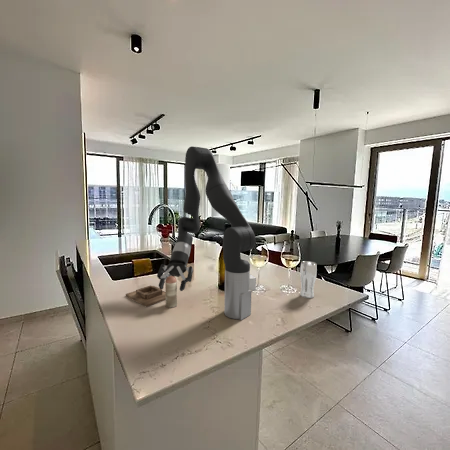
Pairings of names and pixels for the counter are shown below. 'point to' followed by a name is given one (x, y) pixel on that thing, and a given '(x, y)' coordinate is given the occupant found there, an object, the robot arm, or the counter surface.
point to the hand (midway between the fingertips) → (170, 289)
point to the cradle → (147, 295)
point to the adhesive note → (252, 283)
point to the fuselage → (171, 291)
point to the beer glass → (308, 278)
